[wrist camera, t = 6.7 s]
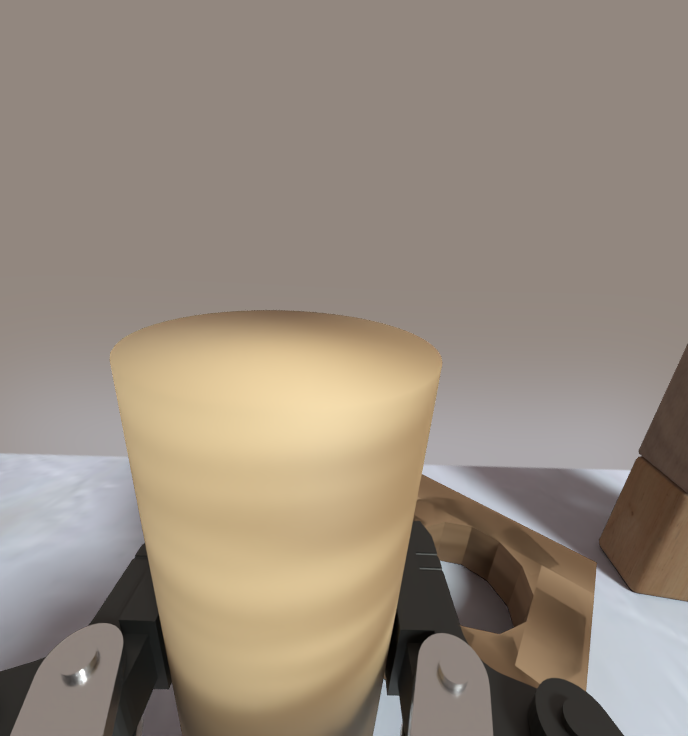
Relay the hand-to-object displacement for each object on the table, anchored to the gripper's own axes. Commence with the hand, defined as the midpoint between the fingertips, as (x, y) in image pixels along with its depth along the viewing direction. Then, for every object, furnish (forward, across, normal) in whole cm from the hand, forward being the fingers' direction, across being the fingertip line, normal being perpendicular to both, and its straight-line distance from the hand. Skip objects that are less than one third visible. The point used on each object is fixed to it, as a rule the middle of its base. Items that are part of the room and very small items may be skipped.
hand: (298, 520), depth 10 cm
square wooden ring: (+4, -8, +10) cm, 13 cm away
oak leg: (-3, 0, +10) cm, 10 cm away
